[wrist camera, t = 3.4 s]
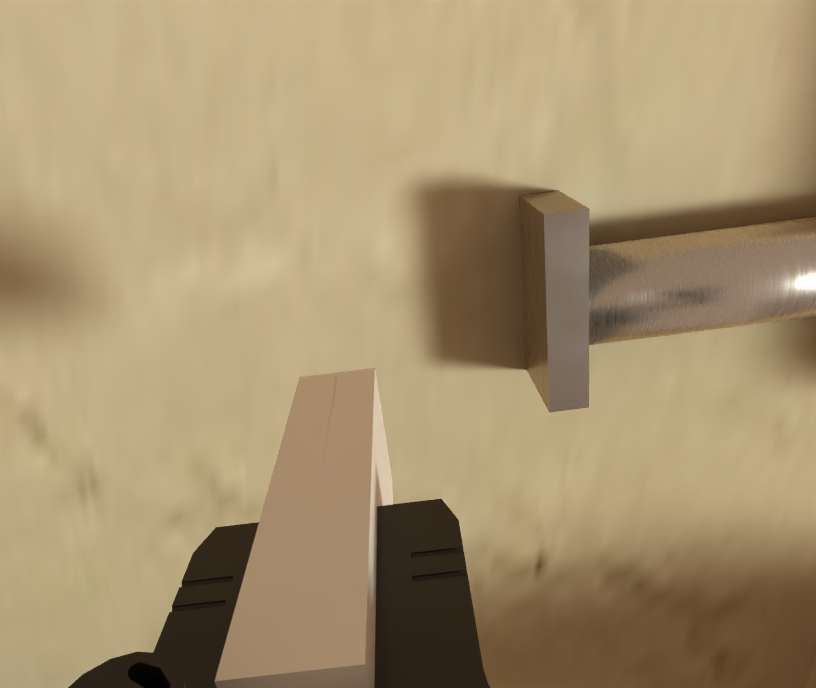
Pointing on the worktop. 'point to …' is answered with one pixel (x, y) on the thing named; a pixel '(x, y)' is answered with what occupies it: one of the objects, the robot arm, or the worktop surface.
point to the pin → (647, 287)
